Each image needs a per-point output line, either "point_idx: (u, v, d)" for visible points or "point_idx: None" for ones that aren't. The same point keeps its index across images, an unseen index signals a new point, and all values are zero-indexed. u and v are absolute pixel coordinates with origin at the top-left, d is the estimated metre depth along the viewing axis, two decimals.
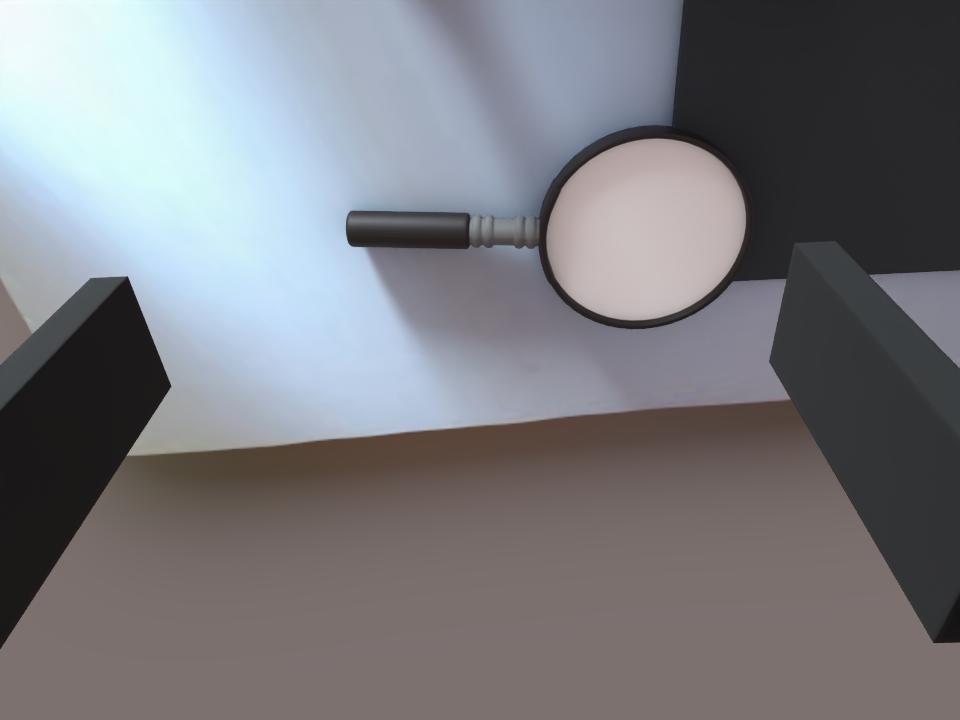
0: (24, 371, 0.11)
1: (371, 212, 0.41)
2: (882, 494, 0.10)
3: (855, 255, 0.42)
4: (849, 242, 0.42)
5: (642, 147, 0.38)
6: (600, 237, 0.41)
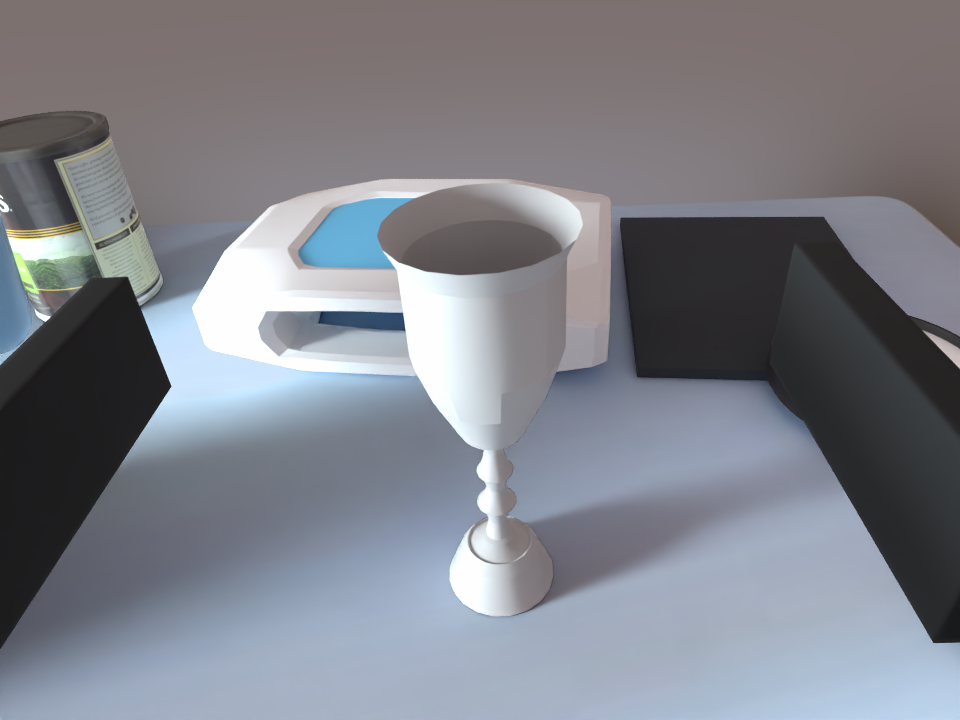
0: (24, 371, 0.11)
1: None
2: (883, 494, 0.10)
3: None
4: None
5: None
6: None
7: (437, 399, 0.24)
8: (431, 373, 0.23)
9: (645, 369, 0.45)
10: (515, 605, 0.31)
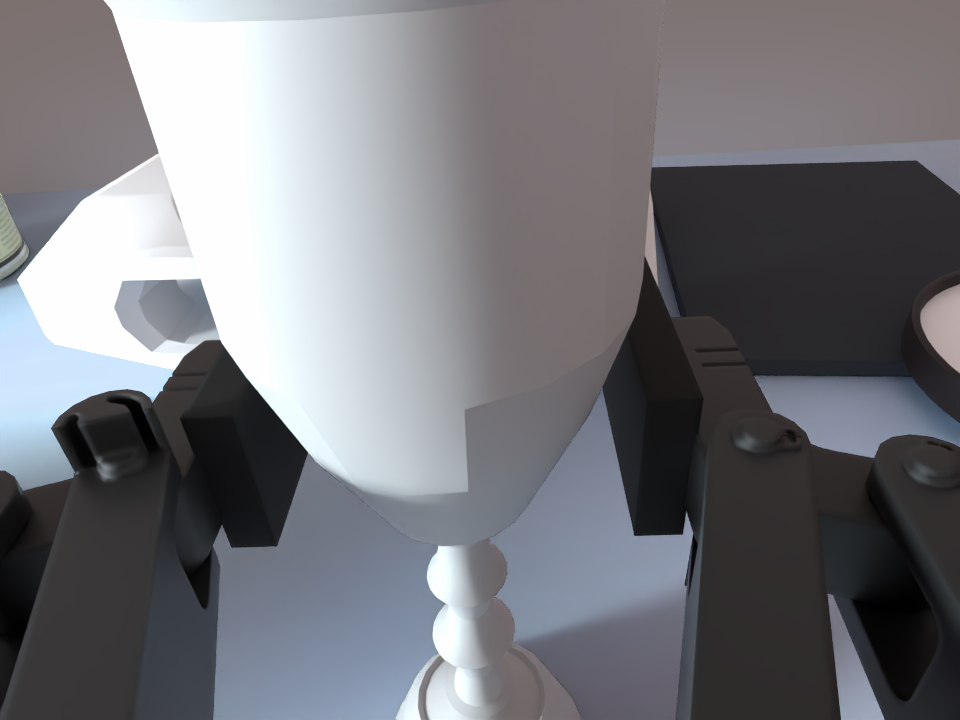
0: None
1: None
2: (619, 419, 0.12)
3: None
4: None
5: (950, 363, 0.25)
6: None
7: (288, 426, 0.09)
8: (249, 347, 0.07)
9: None
10: None
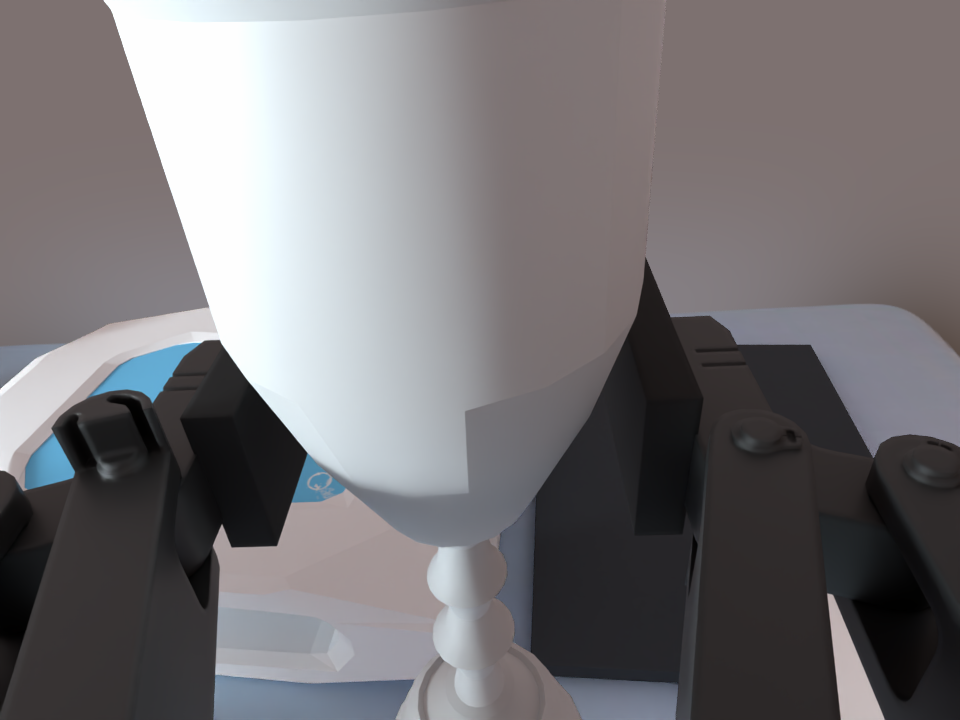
0: None
1: None
2: (619, 420, 0.12)
3: None
4: None
5: None
6: None
7: (288, 427, 0.09)
8: (250, 348, 0.07)
9: None
10: None
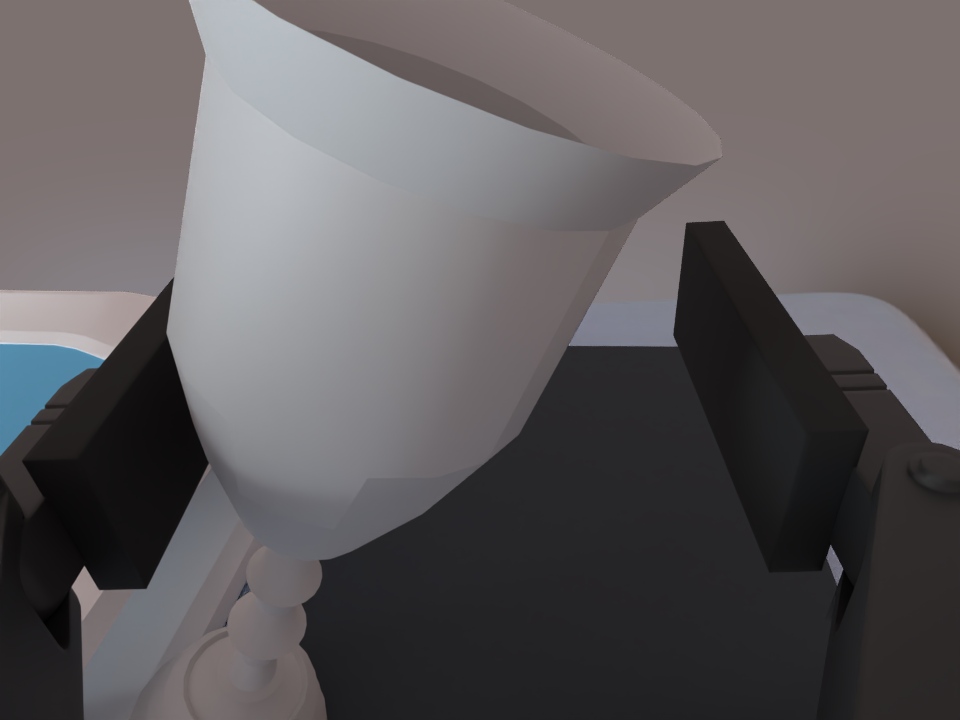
0: (161, 327, 0.12)
1: None
2: (739, 444, 0.11)
3: None
4: (753, 556, 0.23)
5: None
6: None
7: (199, 425, 0.09)
8: (203, 361, 0.08)
9: None
10: None
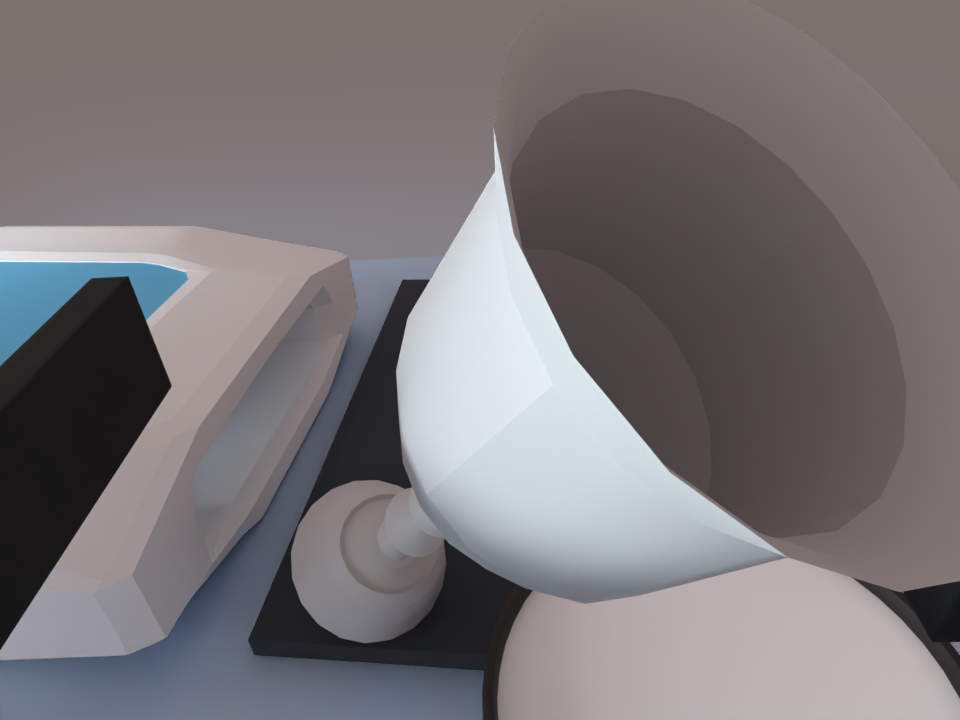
0: (25, 371, 0.11)
1: None
2: None
3: None
4: None
5: (517, 701, 0.18)
6: None
7: (461, 547, 0.10)
8: (501, 553, 0.09)
9: (263, 644, 0.21)
10: (399, 627, 0.21)
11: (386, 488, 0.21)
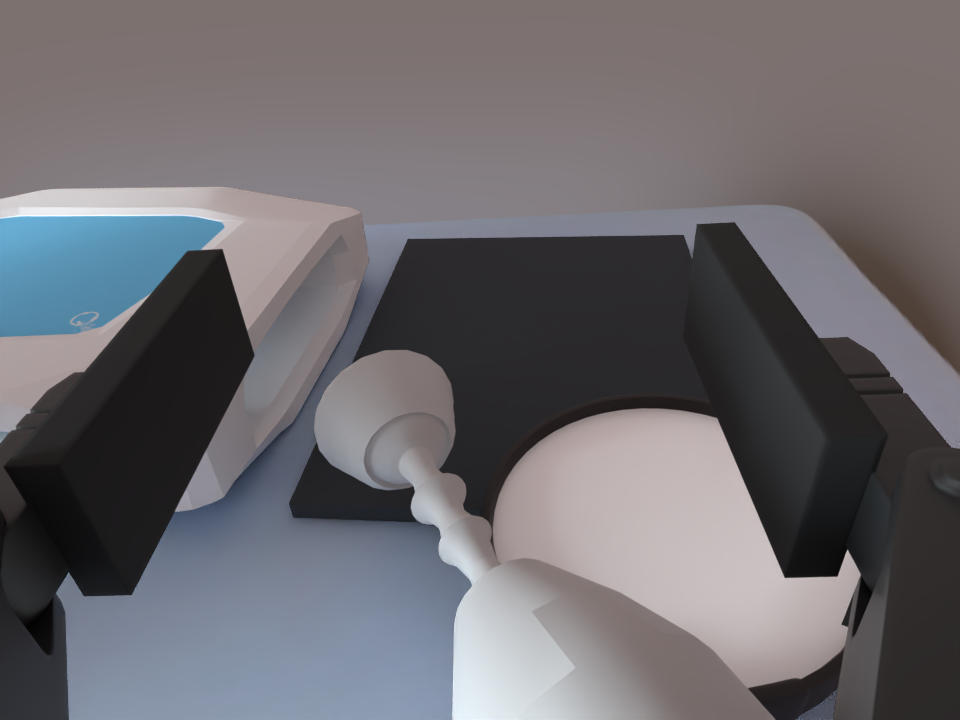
0: (148, 331, 0.12)
1: None
2: (753, 449, 0.11)
3: None
4: (670, 343, 0.34)
5: (508, 530, 0.23)
6: (679, 592, 0.20)
7: None
8: None
9: (301, 507, 0.26)
10: None
11: (400, 401, 0.21)
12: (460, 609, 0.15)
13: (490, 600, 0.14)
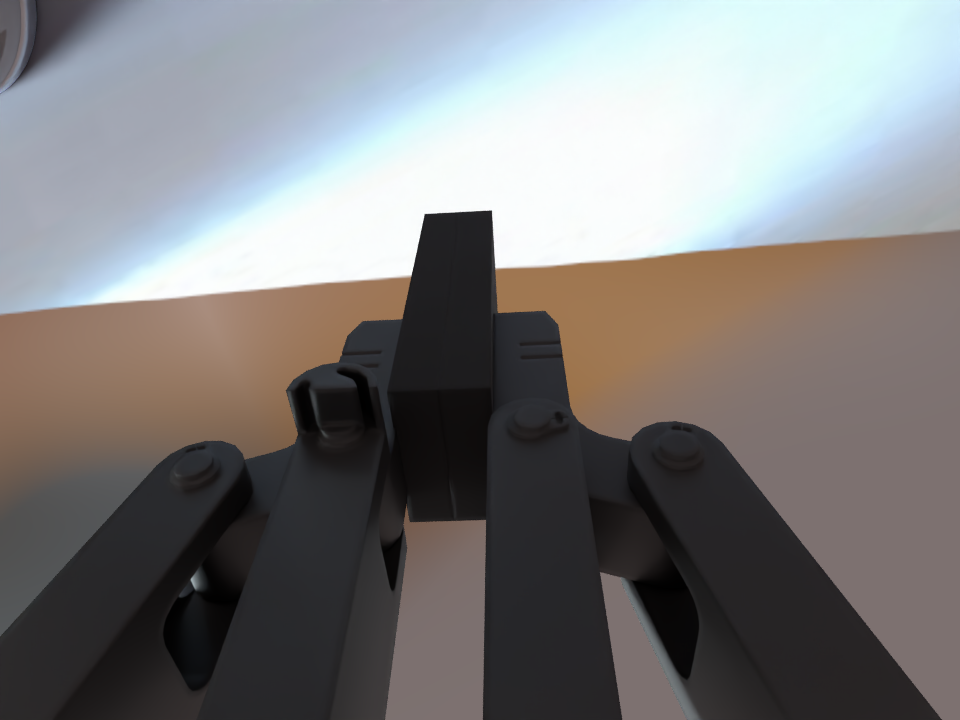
0: (438, 281, 0.12)
1: None
2: None
3: None
4: None
5: None
6: None
7: None
8: None
9: None
10: None
11: None
12: None
13: None
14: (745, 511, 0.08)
